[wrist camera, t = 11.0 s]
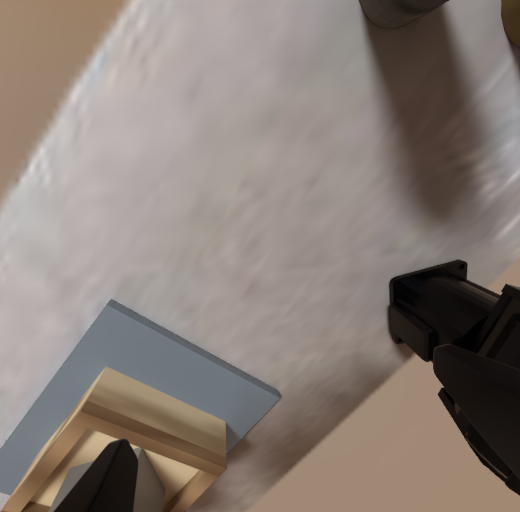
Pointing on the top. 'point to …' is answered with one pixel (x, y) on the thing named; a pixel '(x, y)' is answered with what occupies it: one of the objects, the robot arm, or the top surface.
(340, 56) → the top surface
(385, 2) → the beverage cup
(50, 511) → the block
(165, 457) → the wooden tray
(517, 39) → the cork
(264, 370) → the top surface
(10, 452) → the board
